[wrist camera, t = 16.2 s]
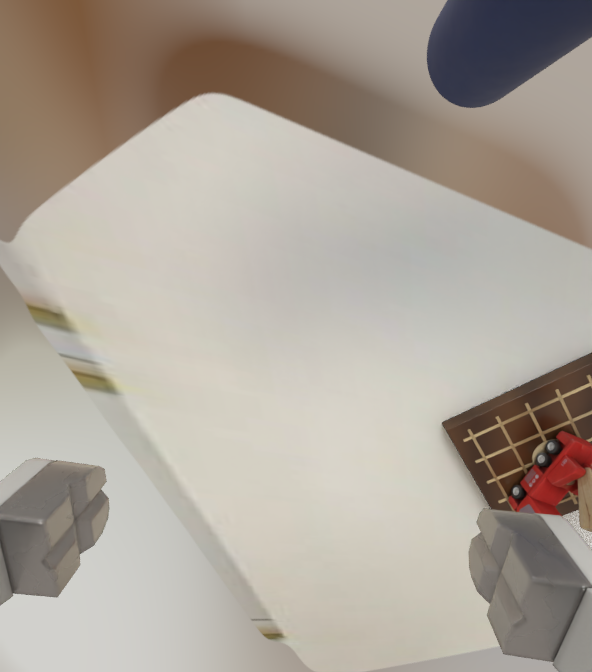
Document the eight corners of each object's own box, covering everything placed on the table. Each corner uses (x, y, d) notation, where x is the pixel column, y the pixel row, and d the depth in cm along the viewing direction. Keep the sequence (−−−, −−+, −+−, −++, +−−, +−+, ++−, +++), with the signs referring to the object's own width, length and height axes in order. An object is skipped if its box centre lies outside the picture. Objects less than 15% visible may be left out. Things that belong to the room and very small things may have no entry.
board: (594, 351, 35) (607, 357, 33) (645, 470, 39) (659, 481, 37) (441, 422, 38) (446, 431, 37) (501, 525, 42) (508, 537, 40)
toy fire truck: (501, 499, 39) (556, 585, 30) (580, 396, 35) (673, 460, 26) (528, 510, 39) (591, 599, 30) (610, 409, 35) (713, 477, 26)
